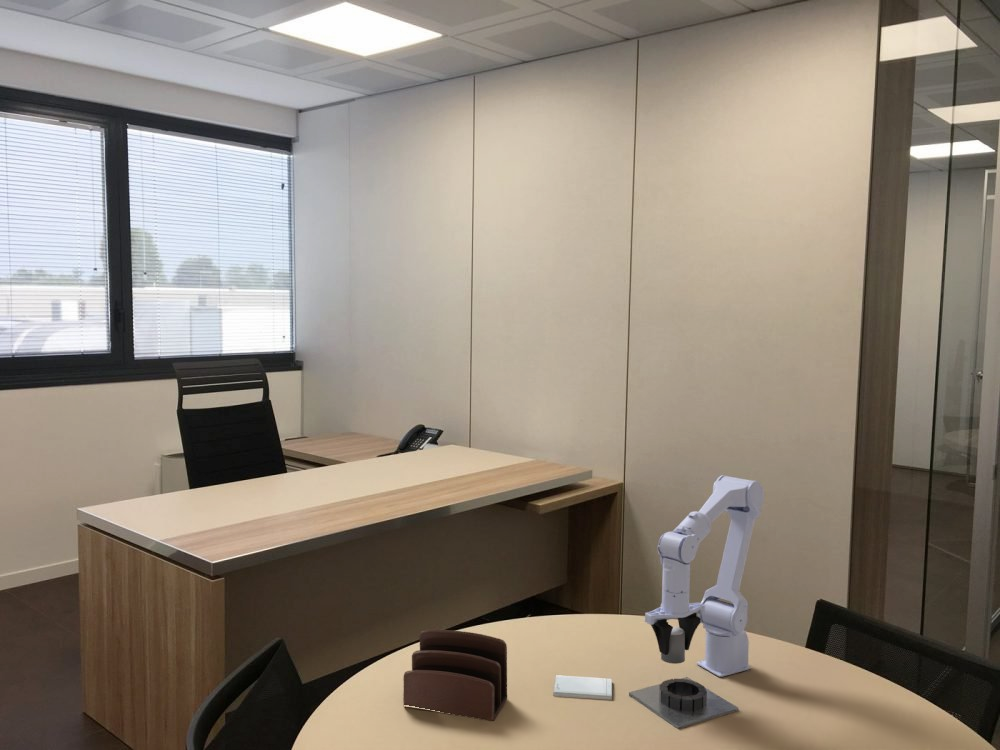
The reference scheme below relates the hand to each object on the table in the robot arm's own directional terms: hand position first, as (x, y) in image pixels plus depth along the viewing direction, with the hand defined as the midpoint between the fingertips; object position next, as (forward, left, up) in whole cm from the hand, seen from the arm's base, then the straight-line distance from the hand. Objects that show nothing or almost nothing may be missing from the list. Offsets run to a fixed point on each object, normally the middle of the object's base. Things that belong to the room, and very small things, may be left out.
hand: (674, 650), depth 177 cm
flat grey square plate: (+1, +4, -10) cm, 10 cm away
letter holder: (+43, -18, -10) cm, 48 cm away
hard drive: (+16, -11, -10) cm, 22 cm away
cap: (0, 0, -2) cm, 2 cm away
